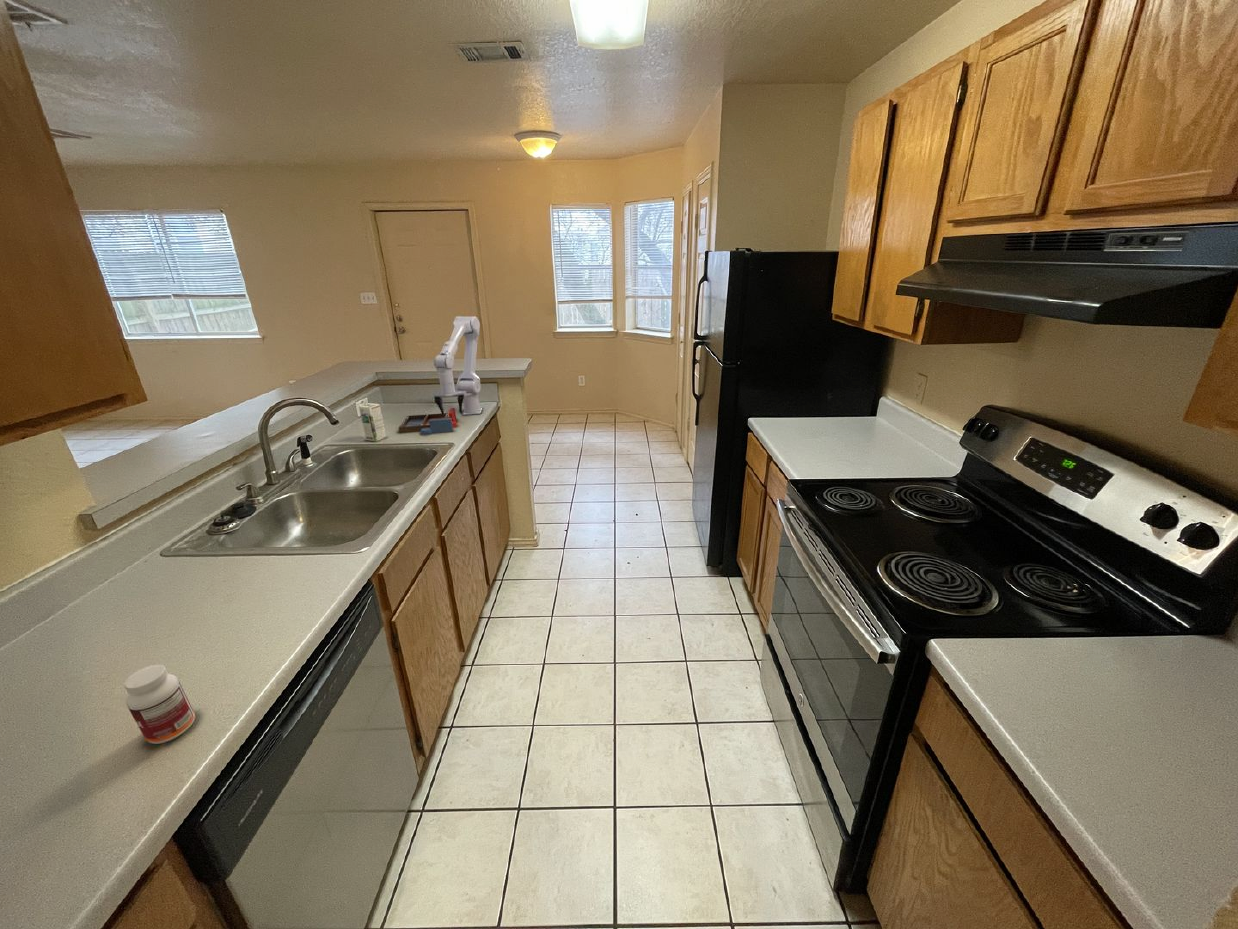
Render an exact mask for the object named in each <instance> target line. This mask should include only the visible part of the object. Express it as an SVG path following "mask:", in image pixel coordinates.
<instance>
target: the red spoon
mask: <svg viewBox="0 0 1238 929" xmlns="http://www.w3.org/2000/svg"><path fill="white" fill-rule="evenodd" d="M447 413H448V417H449V418H452V424H453V429H454V428H456V427H457V426H458V423H457V413H456V408H455V407H450V409H449V411H448V412H447Z"/></svg>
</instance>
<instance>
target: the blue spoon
mask: <svg viewBox="0 0 1238 929" xmlns="http://www.w3.org/2000/svg"><path fill="white" fill-rule="evenodd" d="M429 425H430V428H423V429H421V431H420V433H421V435H422V436H427V435H432V434H442V433H453V432H454V428H453V424H452V418H446V419H433V420H429Z"/></svg>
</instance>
